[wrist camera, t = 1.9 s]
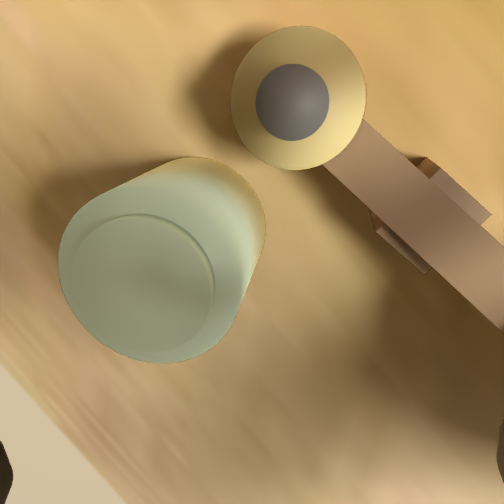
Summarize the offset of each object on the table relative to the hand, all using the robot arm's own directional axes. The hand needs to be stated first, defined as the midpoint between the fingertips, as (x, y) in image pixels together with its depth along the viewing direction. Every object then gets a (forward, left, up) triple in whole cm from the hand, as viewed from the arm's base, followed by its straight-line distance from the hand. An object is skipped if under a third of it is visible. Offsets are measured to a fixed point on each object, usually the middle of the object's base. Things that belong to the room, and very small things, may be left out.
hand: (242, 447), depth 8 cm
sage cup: (+4, 0, -12) cm, 13 cm away
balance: (-5, -2, -12) cm, 13 cm away
